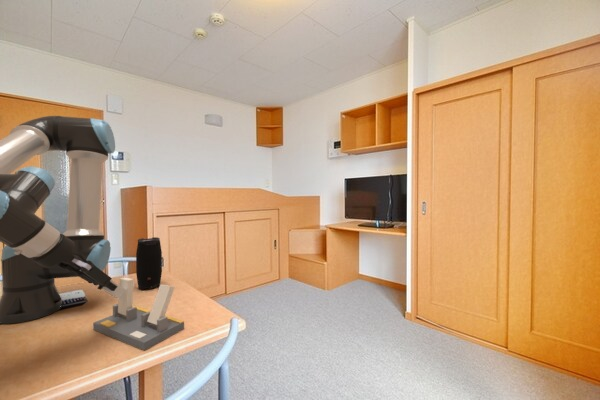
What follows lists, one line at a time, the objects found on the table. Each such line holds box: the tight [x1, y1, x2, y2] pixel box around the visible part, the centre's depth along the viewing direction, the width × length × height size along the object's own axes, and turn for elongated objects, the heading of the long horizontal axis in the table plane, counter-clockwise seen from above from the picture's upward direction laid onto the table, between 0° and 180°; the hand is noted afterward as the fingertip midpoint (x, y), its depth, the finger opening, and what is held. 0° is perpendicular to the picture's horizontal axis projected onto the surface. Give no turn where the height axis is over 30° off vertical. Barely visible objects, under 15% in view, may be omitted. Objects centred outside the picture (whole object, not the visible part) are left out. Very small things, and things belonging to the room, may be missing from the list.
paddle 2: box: [147, 283, 175, 326], centre depth 76 cm, size 5×2×10 cm, turn 64°
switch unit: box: [92, 303, 185, 351], centre depth 77 cm, size 22×12×5 cm, turn 64°
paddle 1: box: [117, 277, 135, 316], centre depth 80 cm, size 5×2×10 cm, turn 64°
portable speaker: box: [135, 236, 163, 291], centre depth 110 cm, size 9×9×20 cm
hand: (120, 293), depth 78 cm, fingers closed
